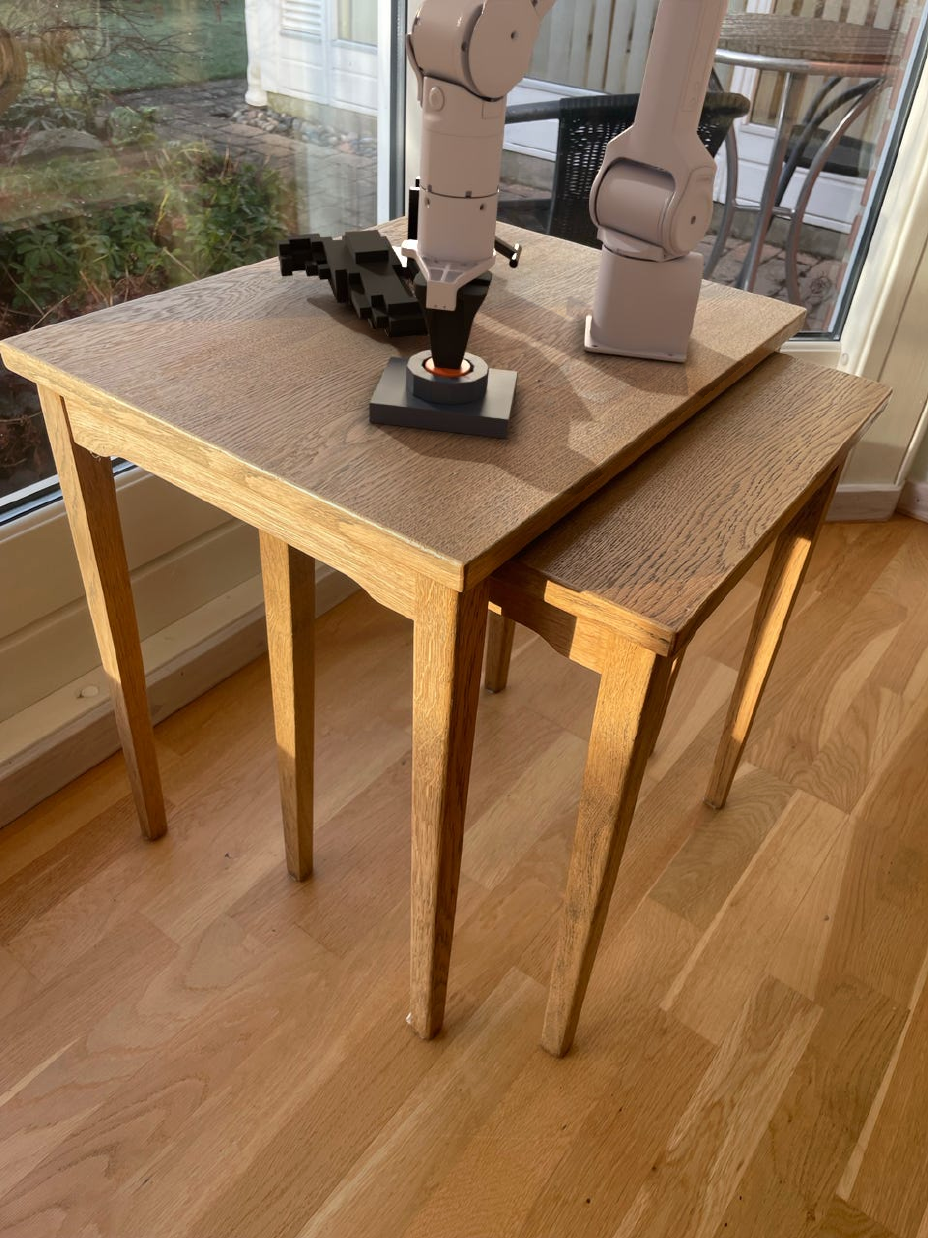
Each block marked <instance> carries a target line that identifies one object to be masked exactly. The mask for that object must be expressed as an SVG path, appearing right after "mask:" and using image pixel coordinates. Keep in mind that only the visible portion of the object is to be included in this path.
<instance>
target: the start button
mask: <svg viewBox="0 0 928 1238" xmlns="http://www.w3.org/2000/svg"><path fill="white" fill-rule="evenodd" d="M425 370H426V371H427V372H429V373H431V374H434V375H436V376H442V377H450V378H453V377H462V376H466V375H468V374H470V364H469V363H468V362H467V361H465V360H463V361H462V364H461V367H460V369H459V370H455V369H447V368H438V367H435V366H434V363H433V359H432V358H431V359H429V360H428V361H427V362H426V368H425Z"/></svg>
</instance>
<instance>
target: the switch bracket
mask: <svg viewBox="0 0 928 1238" xmlns="http://www.w3.org/2000/svg"><path fill="white" fill-rule="evenodd" d="M414 181H415V183H414V184H415V185H414V186H410V187H409V189H408V203H407V205H408V207H407V208H408V209H407V238H406V240H417V236H418V211H419V189H420V176H416V178H415V180H414ZM392 247H393V249H394V250H395V252H396V254H397V256H398V257H399V259H400V261H401V263H402V266H403V277H404V279H409V280H410V278H409V276H408V274H407V273H406V262H411V261H416V260H415V259H414V258H410V257H404V256H402V255H401V246H393V245H392Z"/></svg>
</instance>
